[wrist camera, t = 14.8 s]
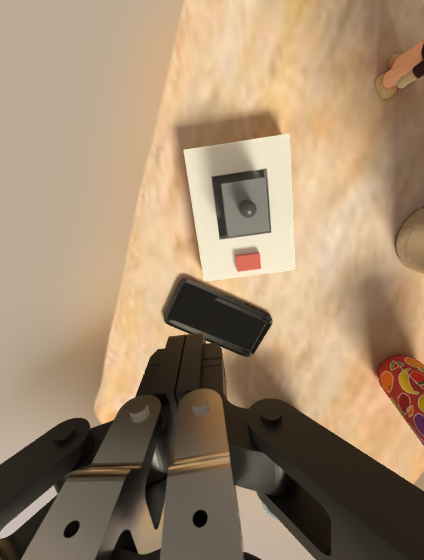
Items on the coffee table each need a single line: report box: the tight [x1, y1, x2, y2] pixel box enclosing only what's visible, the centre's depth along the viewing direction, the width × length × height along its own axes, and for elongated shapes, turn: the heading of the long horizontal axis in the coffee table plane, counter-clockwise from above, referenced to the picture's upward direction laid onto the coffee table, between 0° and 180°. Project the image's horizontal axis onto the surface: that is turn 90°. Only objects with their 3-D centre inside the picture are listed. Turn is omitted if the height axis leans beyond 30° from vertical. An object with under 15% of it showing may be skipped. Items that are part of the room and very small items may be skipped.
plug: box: [220, 177, 270, 237], centre depth 31 cm, size 4×6×9 cm
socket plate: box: [184, 133, 295, 282], centre depth 34 cm, size 12×16×4 cm
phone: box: [164, 278, 272, 357], centre depth 41 cm, size 8×1×15 cm
